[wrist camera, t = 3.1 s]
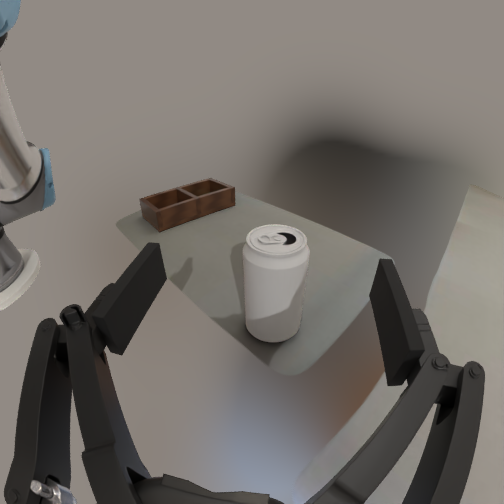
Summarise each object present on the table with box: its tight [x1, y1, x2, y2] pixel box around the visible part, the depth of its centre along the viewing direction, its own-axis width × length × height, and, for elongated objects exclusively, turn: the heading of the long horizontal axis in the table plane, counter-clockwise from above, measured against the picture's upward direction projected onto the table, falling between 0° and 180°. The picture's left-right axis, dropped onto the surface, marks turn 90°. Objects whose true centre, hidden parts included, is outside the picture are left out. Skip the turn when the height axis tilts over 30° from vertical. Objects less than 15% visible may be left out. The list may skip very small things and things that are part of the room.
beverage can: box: [243, 224, 310, 342], centre depth 29 cm, size 6×6×12 cm
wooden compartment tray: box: [140, 178, 235, 232], centre depth 59 cm, size 19×10×4 cm, turn 130°
